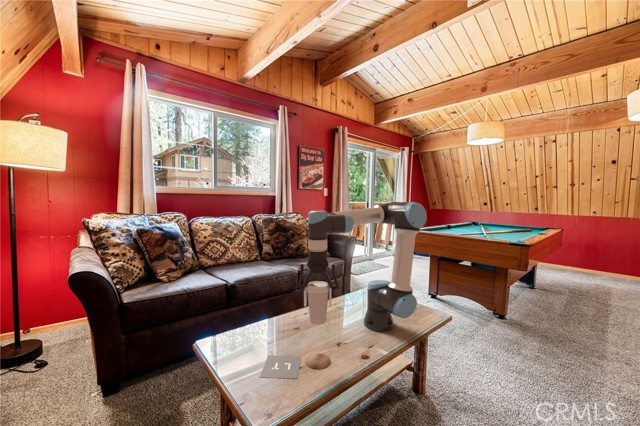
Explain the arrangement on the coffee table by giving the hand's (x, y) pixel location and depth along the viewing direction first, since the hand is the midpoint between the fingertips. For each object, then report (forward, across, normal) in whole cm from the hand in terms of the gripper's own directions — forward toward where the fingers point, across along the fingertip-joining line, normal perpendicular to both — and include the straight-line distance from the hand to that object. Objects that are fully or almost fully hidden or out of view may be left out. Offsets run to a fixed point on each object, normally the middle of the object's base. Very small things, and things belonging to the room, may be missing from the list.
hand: (317, 305), depth 109 cm
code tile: (+23, +14, +4) cm, 27 cm away
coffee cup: (+7, 0, 0) cm, 7 cm away
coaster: (+23, 0, 0) cm, 23 cm away
